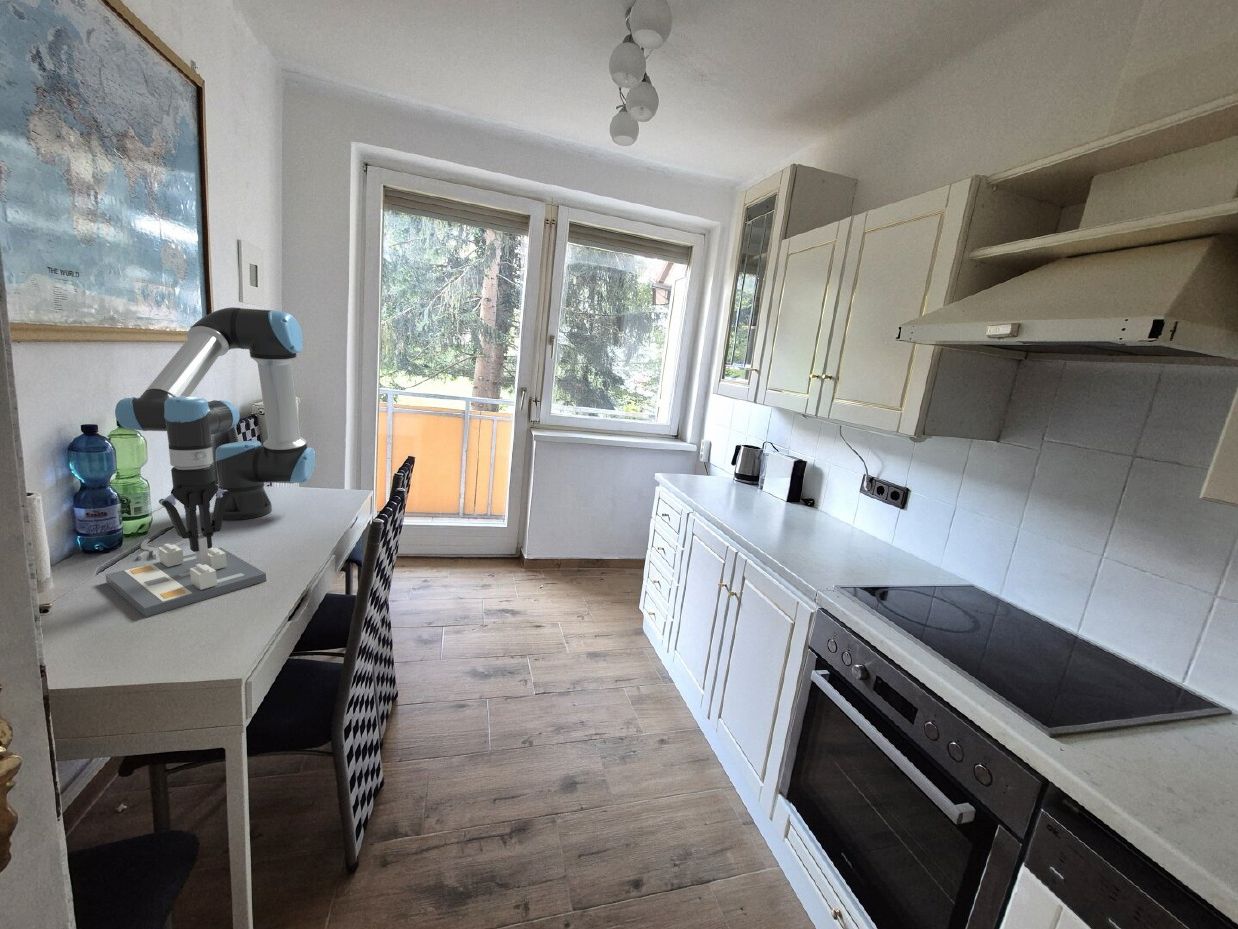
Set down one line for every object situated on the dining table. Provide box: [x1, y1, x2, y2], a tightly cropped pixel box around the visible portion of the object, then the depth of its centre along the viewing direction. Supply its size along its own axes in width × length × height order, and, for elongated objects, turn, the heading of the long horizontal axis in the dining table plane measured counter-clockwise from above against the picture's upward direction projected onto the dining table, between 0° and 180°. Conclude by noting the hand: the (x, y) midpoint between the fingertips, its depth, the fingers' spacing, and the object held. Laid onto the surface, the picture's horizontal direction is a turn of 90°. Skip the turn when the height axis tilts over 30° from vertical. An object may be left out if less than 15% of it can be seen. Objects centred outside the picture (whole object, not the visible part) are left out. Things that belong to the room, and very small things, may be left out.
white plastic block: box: [190, 564, 217, 590], centre depth 112 cm, size 3×5×4 cm, turn 58°
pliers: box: [137, 538, 189, 561], centre depth 134 cm, size 10×2×15 cm
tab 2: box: [204, 547, 227, 570], centre depth 121 cm, size 3×5×4 cm, turn 58°
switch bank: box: [105, 547, 267, 618], centre depth 118 cm, size 22×24×2 cm
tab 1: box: [158, 543, 184, 567], centre depth 121 cm, size 3×5×4 cm, turn 58°
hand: (202, 562), depth 120 cm, fingers closed
